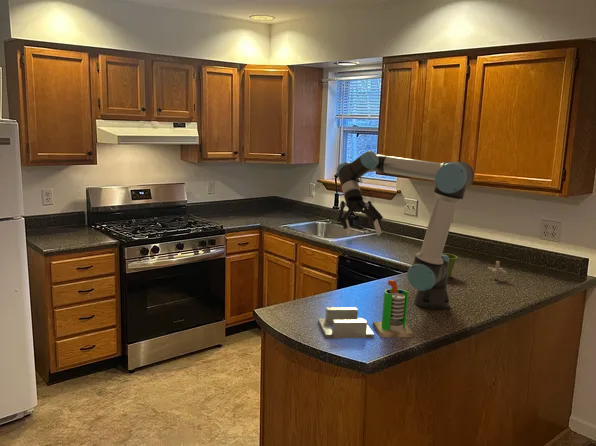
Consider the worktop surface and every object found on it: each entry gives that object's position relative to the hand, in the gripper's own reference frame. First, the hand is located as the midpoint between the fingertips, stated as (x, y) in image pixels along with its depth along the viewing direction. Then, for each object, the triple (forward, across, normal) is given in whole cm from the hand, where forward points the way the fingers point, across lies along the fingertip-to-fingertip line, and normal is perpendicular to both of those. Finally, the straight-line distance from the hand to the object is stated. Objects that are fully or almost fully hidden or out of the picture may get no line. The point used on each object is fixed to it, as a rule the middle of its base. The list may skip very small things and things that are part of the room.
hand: (364, 234), depth 218 cm
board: (+40, -2, -6) cm, 41 cm away
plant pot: (-6, -68, -52) cm, 86 cm away
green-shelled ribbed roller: (+40, -2, -5) cm, 40 cm away
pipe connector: (+2, -92, -44) cm, 102 cm away
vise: (+35, +15, -11) cm, 40 cm away
